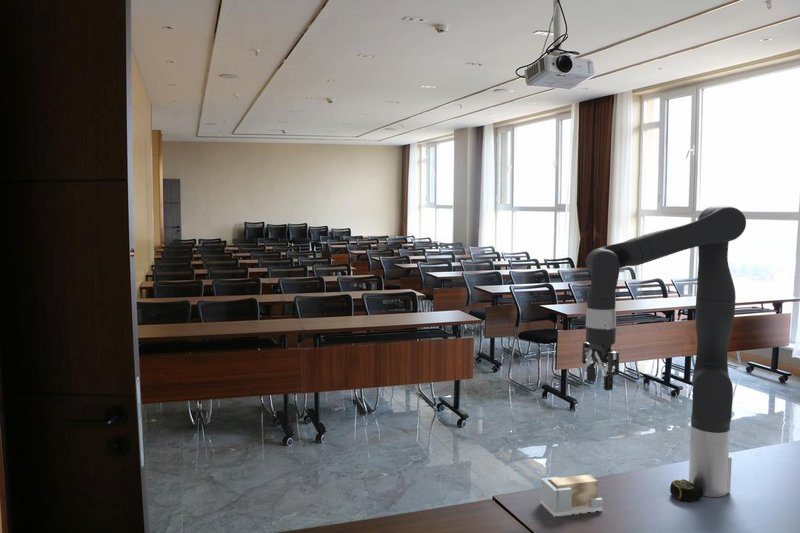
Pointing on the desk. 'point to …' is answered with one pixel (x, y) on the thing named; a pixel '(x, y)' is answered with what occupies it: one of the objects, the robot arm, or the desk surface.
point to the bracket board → (564, 500)
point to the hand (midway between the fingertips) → (599, 385)
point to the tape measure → (685, 490)
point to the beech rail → (578, 488)
